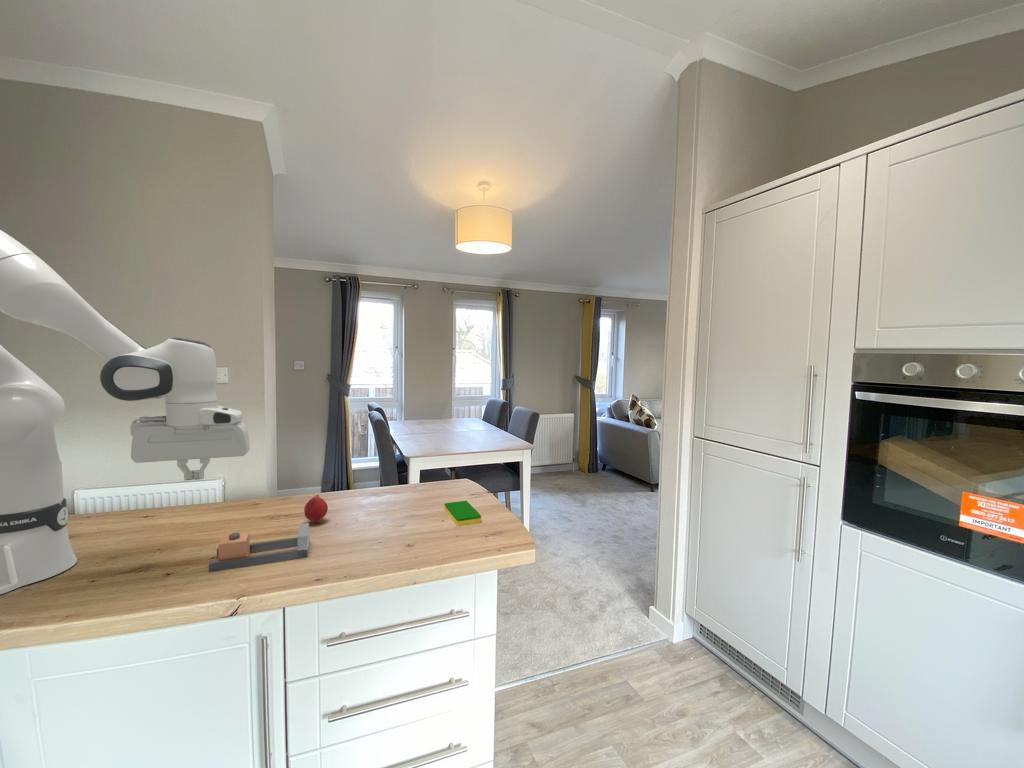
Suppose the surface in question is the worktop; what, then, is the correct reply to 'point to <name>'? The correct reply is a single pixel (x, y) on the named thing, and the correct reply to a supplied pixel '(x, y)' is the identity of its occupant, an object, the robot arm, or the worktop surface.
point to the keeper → (234, 546)
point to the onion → (315, 509)
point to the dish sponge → (462, 513)
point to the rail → (301, 552)
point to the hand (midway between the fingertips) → (194, 479)
